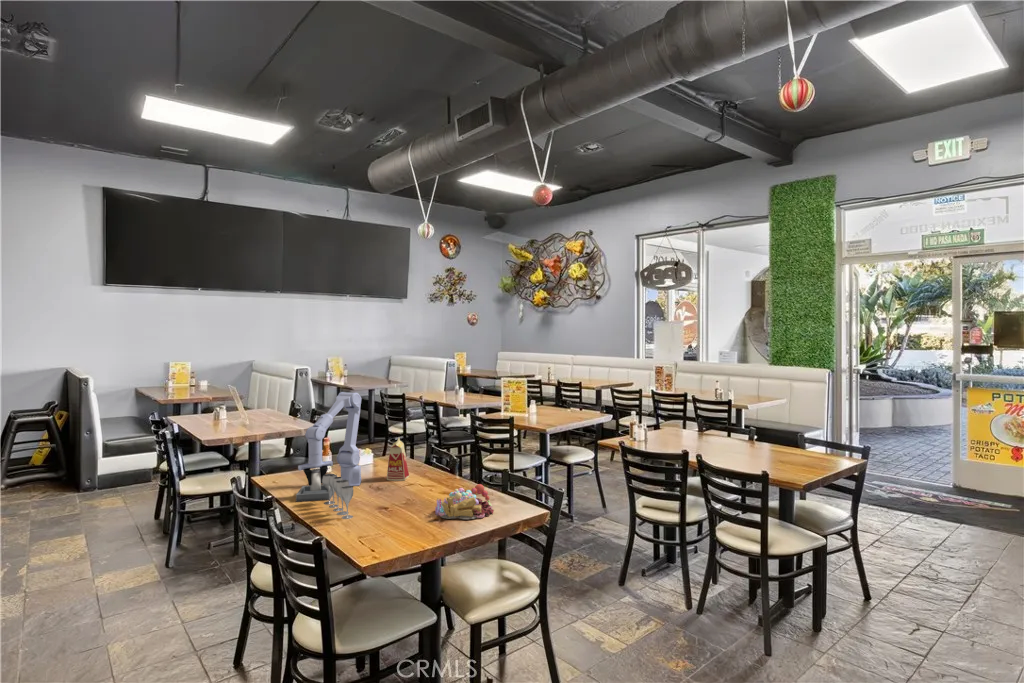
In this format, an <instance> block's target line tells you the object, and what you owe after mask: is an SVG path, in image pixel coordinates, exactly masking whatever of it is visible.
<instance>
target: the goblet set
mask: <svg viewBox="0 0 1024 683" xmlns="http://www.w3.org/2000/svg"><path fill="white" fill-rule="evenodd" d="M321 485H324V486H325V487H326V488H327V489H328V492H329V500H327V501H325V502H323V505H326V506H328V508H331V509H332V508H333V509H332V511H333V512H336V515H337V516H341V519H343V520H350V519H353V518H354V516H353V515H352V514H351V515H350V514H349V506H350V505H349V504H350V502H351V500H352V498H353V496H354V486H349V481H348V480H342V477H341V476H338V475H337V474H335V473H326V474H325V475H323V479H322V484H321ZM331 490H332V492H333V495H332V500H331V499H330V491H331ZM335 494H336V498H337V502H339V500H341V507H339V504H335V503H336V501H335ZM339 498H340V499H339ZM344 503H345V505H346V511H345V510H344Z"/></svg>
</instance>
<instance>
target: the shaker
mask: <svg viewBox="0 0 1024 683" xmlns="http://www.w3.org/2000/svg"><path fill="white" fill-rule="evenodd" d="M311 471H312V472H311V485H310V491H312V492H315V491H320V490H321V485H322V484H321V469H320V468H311Z"/></svg>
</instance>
